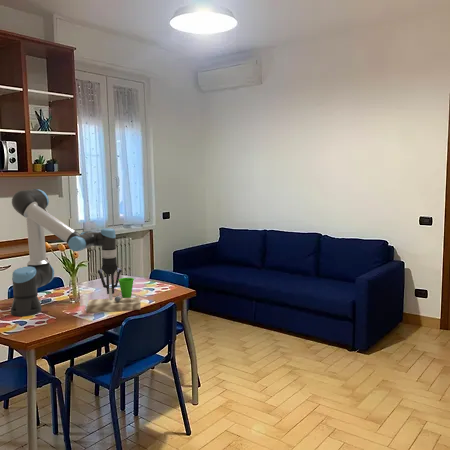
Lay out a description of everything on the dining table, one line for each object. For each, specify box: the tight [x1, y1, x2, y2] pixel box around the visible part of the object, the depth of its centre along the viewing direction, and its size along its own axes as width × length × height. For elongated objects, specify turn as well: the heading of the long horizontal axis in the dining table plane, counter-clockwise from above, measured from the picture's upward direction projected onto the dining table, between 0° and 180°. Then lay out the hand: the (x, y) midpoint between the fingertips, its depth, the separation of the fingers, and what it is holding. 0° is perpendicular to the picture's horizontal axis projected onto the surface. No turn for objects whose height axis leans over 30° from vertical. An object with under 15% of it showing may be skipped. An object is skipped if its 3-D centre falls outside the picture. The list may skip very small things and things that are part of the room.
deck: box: [86, 296, 142, 313], centre depth 255 cm, size 28×12×4 cm, turn 100°
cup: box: [118, 277, 135, 298], centre depth 275 cm, size 9×9×11 cm
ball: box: [114, 295, 122, 302], centre depth 254 cm, size 3×3×3 cm
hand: (110, 299), depth 253 cm, fingers closed
